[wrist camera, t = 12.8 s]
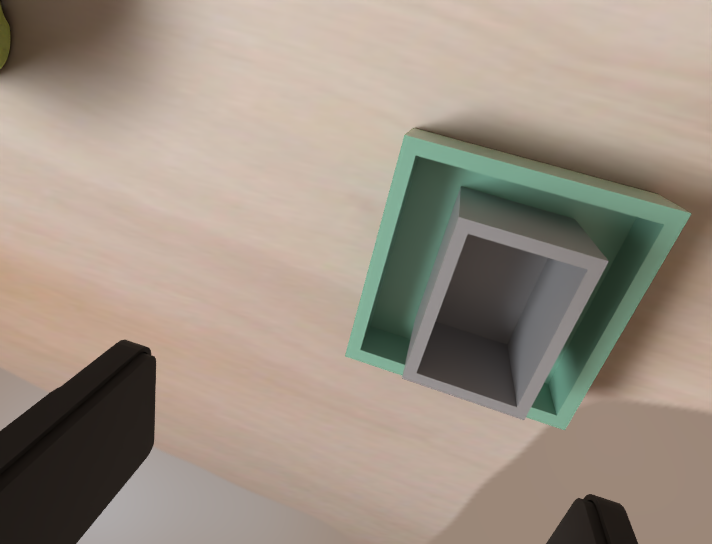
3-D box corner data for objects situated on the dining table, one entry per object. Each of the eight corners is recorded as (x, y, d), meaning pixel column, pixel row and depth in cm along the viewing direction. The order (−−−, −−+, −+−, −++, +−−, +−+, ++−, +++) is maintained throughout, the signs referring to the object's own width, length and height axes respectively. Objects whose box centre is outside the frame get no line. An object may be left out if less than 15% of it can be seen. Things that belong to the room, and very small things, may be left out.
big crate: (413, 127, 25) (404, 135, 22) (657, 194, 24) (691, 213, 20) (359, 324, 31) (345, 356, 28) (552, 388, 30) (564, 430, 26)
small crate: (460, 186, 25) (459, 217, 19) (574, 218, 24) (608, 261, 18) (415, 318, 29) (402, 378, 23) (512, 350, 28) (524, 420, 22)
